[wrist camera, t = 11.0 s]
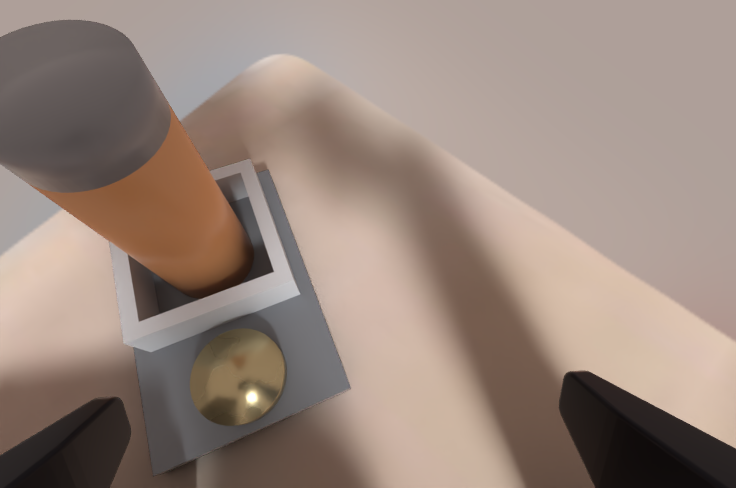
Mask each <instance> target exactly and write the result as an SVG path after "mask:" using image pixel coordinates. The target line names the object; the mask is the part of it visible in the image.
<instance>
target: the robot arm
mask: <svg viewBox="0 0 736 488" xmlns="http://www.w3.org/2000/svg"><path fill="white" fill-rule="evenodd" d="M559 410H560V413H561V416H562V418H563V420H564V423H565V425H566V427H567V429H568V431H569V433H570V435H571V438H572V440H573V442H574V444H575V446H576V448H577V450H578V453H579V455H580V457H581V459H582V461H583V463H584V465H585V468H586V470H587V472H588V474H589V476H590V478H591V480H592V482H593V484H594V486H595V488H736V449H735V448H734V447H732V446H730V445H728V444H726V443H724V442H722V441H720V440H718V439H716V438H715V437H713V436H711V435H709V434H707V433H705V432H703V431H701V430H699V429H697V428H695V427H694V426H692V425H690V424H688V423H686V422H684V421H682V420H680V419H678V418H676V417H675V416H673V415H671V414H669V413H667V412H665V411H663V410H661V409H659V408H657V407H655V406H654V405H652V404H650V403H648V402H646V401H644V400H642V399H640V398H638V397H636V396H635V395H633V394H631V393H629V392H627V391H625V390H623V389H621V388H619V387H617V386H615V385H614V384H612V383H610V382H608V381H606V380H604V379H602V378H600V377H598V376H596V375H595V374H593V373H591V372H589V371H570V372H567V373H566V374H565V375H564V379H563V384H562V389H561V394H560V399H559ZM130 436H131V428H130V424H129V421H128V418H127V415H126V411H125V408H124V405H123V402H122V400H121V399H120V398H118V397H101V398H96V399H93V400H91V401H90V402H88V403H86V404H85V405H83V406H81V407H80V408H78V409H76V410H75V411H73V412H71V413H70V414H68V415H66V416H65V417H63V418H61V419H60V420H58V421H56V422H55V423H53V424H52V425H50V426H48V427H47V428H45V429H43V430H42V431H40V432H38V433H37V434H35V435H33V436H32V437H30V438H28V439H27V440H25V441H23V442H22V443H20V444H18V445H17V446H15V447H13V448H12V449H10V450H8V451H7V452H5V453H3V454H2V455H0V488H110V486H111V484H112V481H113V479H114V477H115V474H116V472H117V469H118V467H119V465H120V462H121V460H122V457H123V455H124V453H125V450H126V448H127V446H128V443H129V440H130Z"/></svg>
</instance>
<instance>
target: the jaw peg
mask: <svg viewBox="0 0 736 488" xmlns="http://www.w3.org/2000/svg"><path fill="white" fill-rule="evenodd" d="M0 164H1V165H2V166H4V167H5V168H7V169H8V170H10V171H11V172H12V173H14V174H15V175H16V176H18V177H19V178H21V179H22V180H24V181H25V182H26V183H28V184H29V185H31V186H32V187H34V188H35V189H37V190H38V191H39V192H40V193H42V194H44V195H45V196H46V197H48V198H49V199H50V200H52V201H53V202H55V203H56V204H58V205H59V206H60V207H62V208H63V209H64V210H66V211H67V212H69V213H70V214H72V215H73V216H74V217H76V218H77V219H79V220H80V221H81V222H83V223H84V224H86V225H87V226H89V227H90V228H91V229H93V230H94V231H96V232H97V233H98V234H100V235H101V236H103V237H104V238H105V239H107V240H108V241H110V242H111V243H113V244H114V245H115V246H117V247H118V248H120V249H121V250H122V251H124V252H125V253H127V254H128V255H129V256H131V257H132V258H134V259H135V260H137V261H138V262H139V263H141V264H142V265H144V266H145V267H146V268H148V269H149V270H151V271H152V272H154V273H155V274H156V275H158V276H159V277H161V278H162V279H163V280H165V281H166V282H168V283H169V284H170V285H172V286H173V287H175V288H176V289H178V290H179V291H180V292H182V293H184V294H185V295H187V296H190V297H193V298H198V299H202V298H205V297H208V296H210V295H213V294H216V293H218V292H221V291H224V290H227V289H229V288H232V287H235V286H237V285H240V284H241V283H242V282H243V281H244V279H245V278H246V277H247V275H248V273H249V272H250V270H251V267H252V264H253V260H254V249H253V245H252V242H251V240H250V238H249V236H248V235H247V233H246V231H245V230H244V228H243V226H242V225H241V223H240V221H239V220H238V218H237V216H236V215H235V213H234V211H233V210H232V208H231V206H230V205H229V203H228V201H227V200H226V198H225V196H224V195H223V193H222V191H221V190H220V188H219V186H218V185H217V183H216V181H215V180H214V178H213V176H212V175H211V173H210V171H209V170H208V168H207V166H206V165H205V163H204V161H203V160H202V158H201V156H200V155H199V153H198V151H197V150H196V148H195V146H194V145H193V143H192V141H191V140H190V138H189V136H188V135H187V133H186V131H185V130H184V128H183V126H182V125H181V123H180V121H179V120H178V118H177V116H176V115H175V113H174V111H173V110H172V108H171V106H170V105H169V104H168V101H167V100H166V98H165V97H164V95H163V93H162V91H161V90H160V88H159V86H158V85H157V83H156V82H155V80H154V78H153V77H152V75H151V74H150V72H149V70H148V68H147V67H146V65H145V63H144V61H143V60H142V58H141V57H140V55H139V53H138V52H137V50H136V48H135V47H134V45H133V44H132V42H131V41H130V40H129V39H128V38H127V37H126V36H125V35H124V34H123V33H121V32H119V31H118V30H116V29H114V28H112V27H110V26H107V25H104V24H100V23H97V22H91V21H82V20H60V21H51V22H45V23H41V24H35V25H32V26H28V27H25V28H21V29H19V30H16V31H14V32H11V33H8V34H6V35H4V36H2V37H0Z"/></svg>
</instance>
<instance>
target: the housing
mask: <svg viewBox="0 0 736 488" xmlns="http://www.w3.org/2000/svg"><path fill="white" fill-rule="evenodd" d="M210 173H211V175H212V176H213V178H214V180H215V181H216V183H217V185H218V186H219V188H220V190H221V191H222V193H223V195H224V196H225V198H226V200H227V201H228V203H229V205H230V206H231V208H232V210H233V211H234V213H235V215H236V216H237V218H238V220H239V221H240V223H241V225H242V226H243V228H244V230H245V231H246V233H247V235H248V236H249V238H250V240H251V242H252V245H253V249H254V260H253V264H252V267H251V270H250V272H249V273H248V275H247V277H246V278H245V279H244V281H243V282H242V283H241V284H240V285H237V286H235V287H232V288H229V289H227V290H224V291H221V292H218V293H216V294H213V295H210V296H208V297H205V298H202V299H198V298H193V297H190V296H187V295H185V294H184V293H182V292H180V291H179V290H178V289H176V288H175V287H173V286H172V285H170V284H169V283H168V282H166V281H165V280H163V279H162V278H161V277H159V276H158V275H156V274H155V273H154V272H152V271H151V270H149V269H148V268H146V267H145V266H144V265H142V264H141V263H139V262H138V261H137V260H135V259H134V258H132V257H131V256H129V255H128V254H127V253H125V252H124V251H122V250H121V249H120V248H118V247H117V246H115V245H114V244H113V243H111V242H110V241H109V245H110V252H111V259H112V266H113V273H114V280H115V287H116V294H117V301H118V308H119V315H120V322H121V329H122V335H123V342H124V344H125V345H129V346H132V347H133V348H134V354H135V361H136V367H137V374H138V380H139V387H140V393H141V400H142V406H143V413H144V419H145V426H146V432H147V439H148V445H149V452H150V458H151V465H152V471H153V476H156V475H159V474H162V473H166V472H168V471H170V470H172V469H175V468H177V467H179V466H181V465H183V464H186V463H188V462H190V461H192V460H195V459H197V458H199V457H201V456H203V455H206V454H208V453H210V452H212V451H215V450H217V449H219V448H221V447H223V446H226V445H228V444H230V443H232V442H235V441H237V440H239V439H241V438H243V437H246V436H248V435H250V434H252V433H255V432H257V431H259V430H261V429H263V428H266V427H268V426H270V425H272V424H275V423H277V422H279V421H281V420H283V419H286V418H288V417H290V416H292V415H295V414H297V413H299V412H301V411H303V410H306V409H308V408H310V407H312V406H315V405H317V404H319V403H321V402H324V401H326V400H328V399H330V398H332V397H335V396H337V395H339V394H341V393H344V392H346V391H348V390H350V389H351V387H350V385H349V382H348V379H347V377H346V374H345V371H344V369H343V366H342V363H341V361H340V358H339V355H338V353H337V350H336V347H335V345H334V342H333V340H332V337H331V334H330V332H329V329H328V326H327V324H326V321H325V318H324V316H323V313H322V310H321V308H320V305H319V302H318V300H317V297H316V294H315V292H314V289H313V287H312V284H311V281H310V279H309V276H308V273H307V271H306V268H305V265H304V263H303V260H302V257H301V255H300V252H299V249H298V247H297V244H296V241H295V239H294V236H293V234H292V231H291V228H290V226H289V223H288V220H287V218H286V215H285V212H284V210H283V207H282V204H281V202H280V199H279V196H278V194H277V191H276V188H275V186H274V183H273V181H272V178H271V175H270V173H269V170H265V171H262V172H259V173H256V171H255V169H254V166H253V164H252V162H251V159H246V160H243V161H240V162H237V163H233V164H230V165H227V166H223V167H220V168H217V169H214V170H210Z"/></svg>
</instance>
